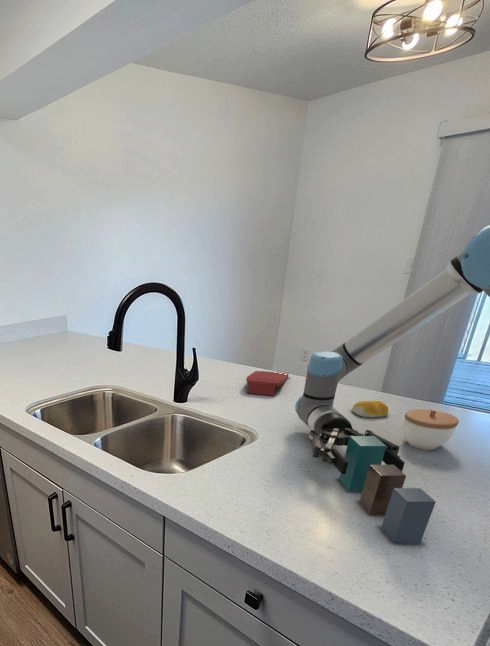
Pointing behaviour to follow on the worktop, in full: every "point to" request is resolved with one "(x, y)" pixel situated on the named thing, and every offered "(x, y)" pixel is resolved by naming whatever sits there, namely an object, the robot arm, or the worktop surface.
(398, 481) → the walnut block
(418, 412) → the trinket box
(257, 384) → the carton
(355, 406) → the bread roll
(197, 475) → the worktop surface
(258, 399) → the worktop surface
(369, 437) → the teal block
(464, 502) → the worktop surface
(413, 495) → the slate block
